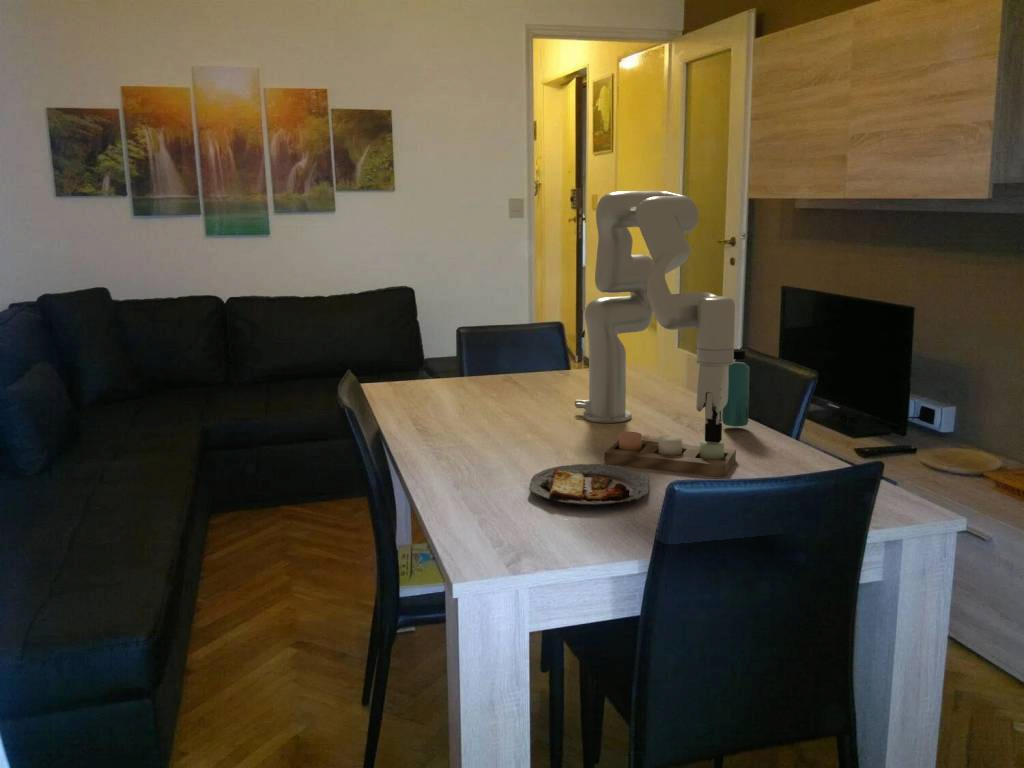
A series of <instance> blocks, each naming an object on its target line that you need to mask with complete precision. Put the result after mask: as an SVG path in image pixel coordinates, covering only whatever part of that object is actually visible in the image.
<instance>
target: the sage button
mask: <svg viewBox="0 0 1024 768" xmlns="http://www.w3.org/2000/svg"><path fill="white" fill-rule="evenodd" d="M699 446H700V458H701V459H710V460H720V461H723V460H724V449H725V442H724V441H722V440H721V441H720V442H719V443H713V442H706V441H705V439H703V440H700V442H699Z"/></svg>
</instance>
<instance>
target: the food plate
mask: <svg viewBox="0 0 1024 768" xmlns="http://www.w3.org/2000/svg"><path fill="white" fill-rule="evenodd" d="M585 478H591V481H590V483H591V488H590V491H588V490H589V489H588V488H587V485H586V482H585V481H586V480H585ZM613 480H614V481H616V482H617V481H618V483H615V484H614V487H608V486H609V485H610V484H611V482H613ZM619 482H620V483H619ZM624 484H625V485H624ZM627 486H628V487H627ZM628 488H629V489H628ZM528 489H529V492H530V493H531V494H533V496H537V497H539V498H542V499H544V500H547V501H551V502H555V503H557V504H570V505H583V506H584V505H585V506H591V507H593V506H608V505H614V504H628V503H631V502H635V501H639V500H641V497H642V498H645V497H646V496H647V495H648V494H649V491H650V477H649V476H648V475H646V474H644V473H641V472H639V471H635V470H634V469H633V470H632V469H630V468H626V467H622V466H618V465H612V464H601V463H600V464H599V463H589V464H588V463H587V464H585V463H577V464H570V465H569V464H568V465H567V464H566V465H560V466H553V467H550V468H545V469H543V470H542V471H540V472H537V473H535V474H533V476H532V478H531V480H530V483H529V486H528ZM630 489H631V491H630ZM630 492H631V493H630Z"/></svg>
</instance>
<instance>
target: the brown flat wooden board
mask: <svg viewBox="0 0 1024 768" xmlns="http://www.w3.org/2000/svg"><path fill="white" fill-rule="evenodd" d="M736 459H737V450H736V449H731V448H724V460H723V461H720V460H710V459H701V458H700V445H694V444H693V445H692V444H683V443H682V455H681V456H673V455H663V454H659V441H654V440H653V441H652V440H643V439H642V450H641V451H640V452H635V451H626V450H619V439H618V440H617V441H616V442H615V443H614V444H613V445H611V446H610V447H609V448H608V449H606V451H604V461H603V462H604V463H603V464H604V465H607V464H608V465H613V466H624V467H633V468H634V467H635V468H643V469H650V470H651V469H652V470H659V471H666V472H667V471H668V472H669V471H670V472H676V473H686V474H693V475H695V474H696V475H703V476H711V477H713V476H714V477H719V476H722V477H723V478H725V477H726V476H727V475H728V473H729V472H730V470H731V468H732V467H733V465H734V464H735V462H736V461H737V460H736ZM722 477H721V478H722Z"/></svg>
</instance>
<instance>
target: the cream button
mask: <svg viewBox="0 0 1024 768" xmlns="http://www.w3.org/2000/svg"><path fill="white" fill-rule="evenodd" d="M658 442H659V454H663V455H673V456H681V455H682V444H683V438H682V436H678V435H661V436H660V437H658Z"/></svg>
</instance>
